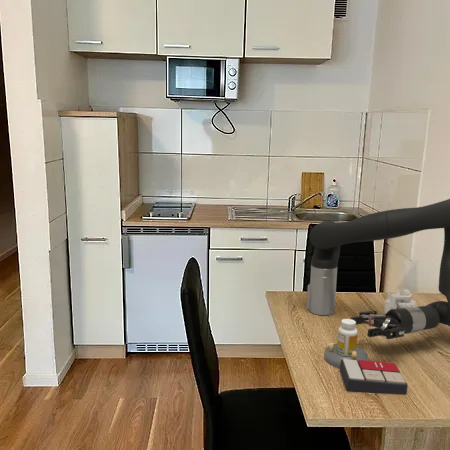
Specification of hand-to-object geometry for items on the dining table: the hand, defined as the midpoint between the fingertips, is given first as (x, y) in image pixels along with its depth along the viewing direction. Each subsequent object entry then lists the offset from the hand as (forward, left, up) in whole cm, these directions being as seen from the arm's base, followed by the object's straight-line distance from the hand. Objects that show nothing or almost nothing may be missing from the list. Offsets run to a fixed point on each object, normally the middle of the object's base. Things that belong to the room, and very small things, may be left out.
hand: (359, 327), depth 136 cm
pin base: (-2, -4, -9) cm, 10 cm away
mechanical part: (-3, +34, -10) cm, 36 cm away
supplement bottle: (-2, -3, -8) cm, 9 cm away
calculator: (+10, -9, -10) cm, 17 cm away
